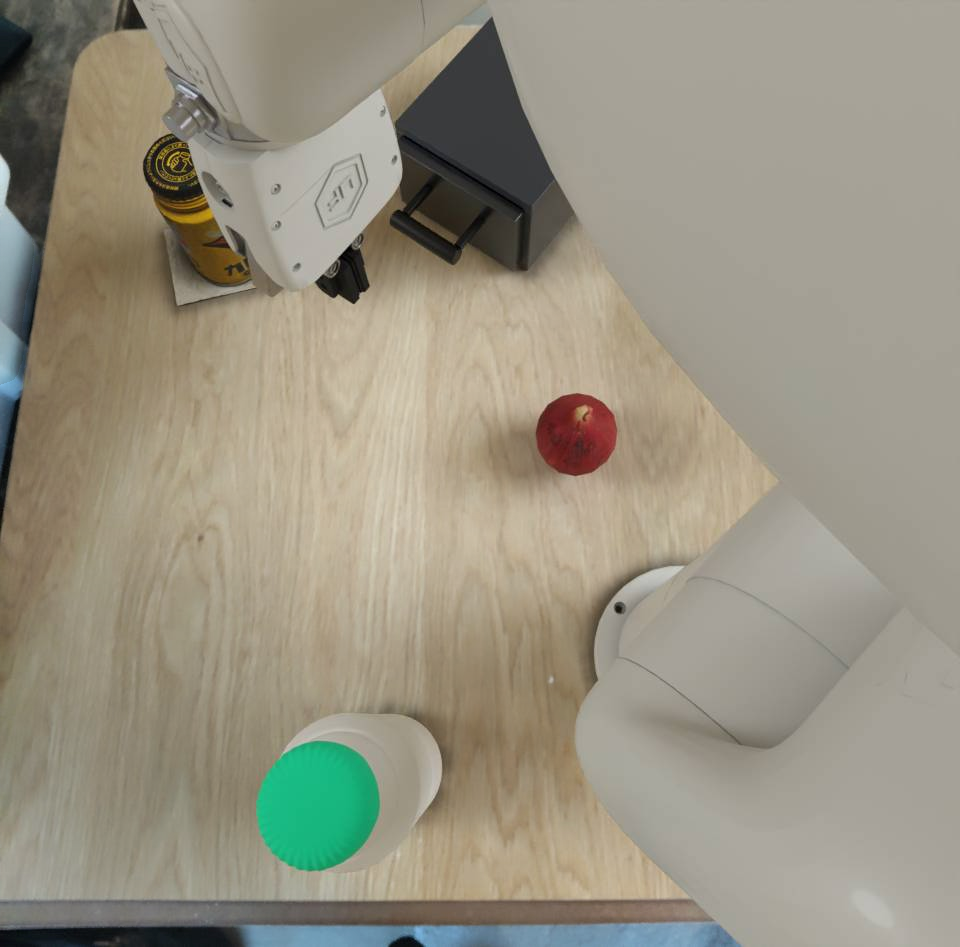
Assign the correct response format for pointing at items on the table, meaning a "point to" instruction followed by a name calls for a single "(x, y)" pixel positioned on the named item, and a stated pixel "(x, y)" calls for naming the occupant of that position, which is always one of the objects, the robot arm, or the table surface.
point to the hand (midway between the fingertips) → (344, 284)
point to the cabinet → (489, 136)
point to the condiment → (191, 227)
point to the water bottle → (348, 791)
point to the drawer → (455, 209)
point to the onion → (576, 434)
